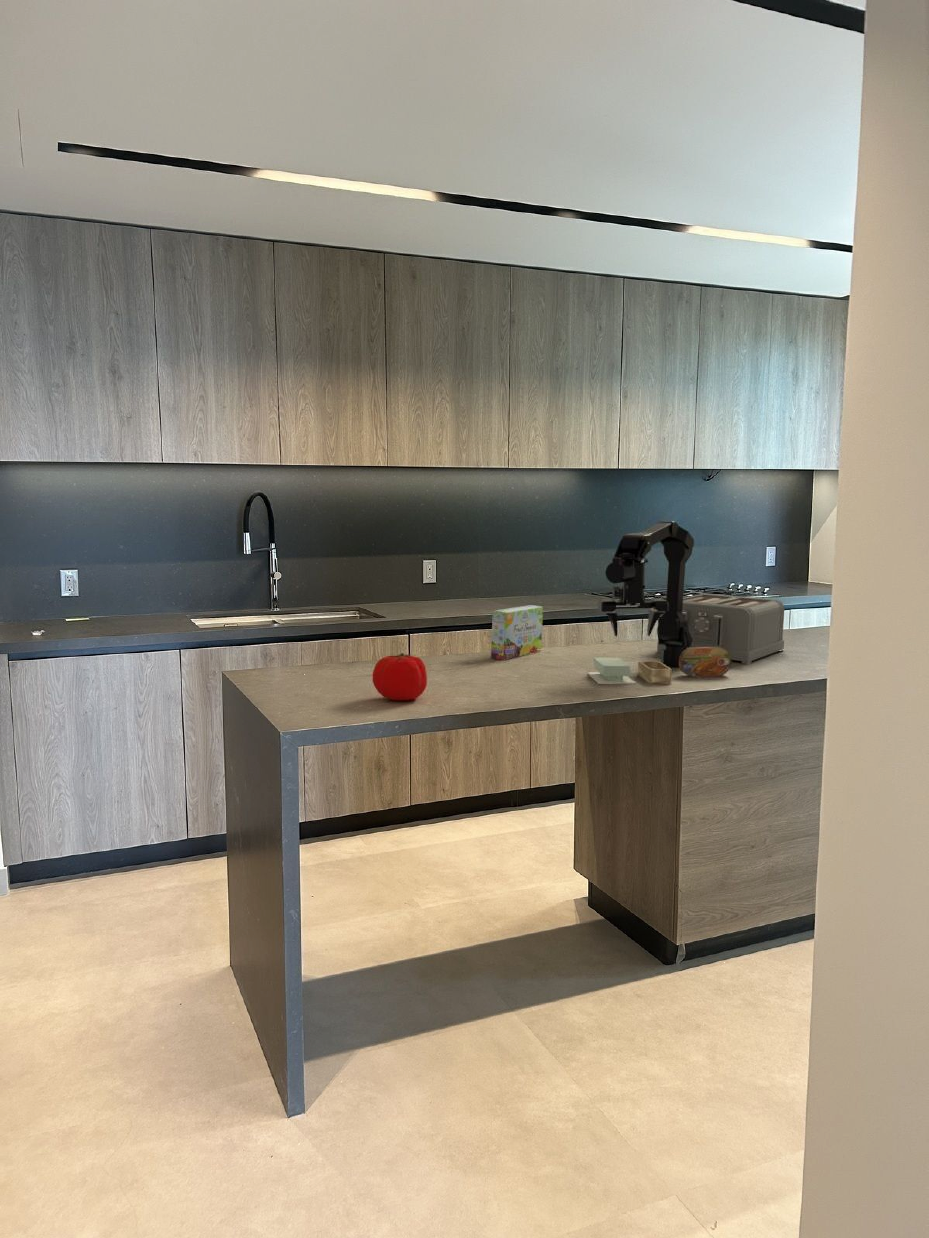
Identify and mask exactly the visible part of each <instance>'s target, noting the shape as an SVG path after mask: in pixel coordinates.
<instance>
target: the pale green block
mask: <svg viewBox="0 0 929 1238" xmlns="http://www.w3.org/2000/svg"><path fill="white" fill-rule="evenodd" d="M592 666H593V669H595V671H597V672H599V673H600V674H601V675H602V676H603V677H604V678H605V679H606V680H607V681H623V676H628V677H630V676H631V674H630V673H631V666H630V665H629V664H628V663H627V662H625V661H624V660H622V658H620V657H593V665H592Z"/></svg>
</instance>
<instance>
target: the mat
mask: <svg viewBox="0 0 929 1238" xmlns="http://www.w3.org/2000/svg"><path fill="white" fill-rule="evenodd" d="M588 674H589V675H588ZM587 675H588V676H590V677H591V678H592V679H593V681H595V682H596V683H597V684H598V685H635V684H636V681H635V680H633V679H632V678H630V676H623V681H607V680H606V679H605V678H604V677H603V676H602V675H601V674H600V673H599V672H598V671H597V672H593V671H592V672H591V671H590V672H587Z"/></svg>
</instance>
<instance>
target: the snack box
mask: <svg viewBox="0 0 929 1238" xmlns="http://www.w3.org/2000/svg"><path fill="white" fill-rule="evenodd" d="M543 614H544V606H539V605H532V604H531V605H522V606H514V607H509V608H502V609H497V610H496V609H495V610H492V619H491V620H492V624H491V625H492V626H491V645H490V647H491V648H490V658H491V659H494V658H495V659H494V660H499V661H505V660H510V658H511V659H514V658H513V657H515V658H519V656H520V657H523V656H522V655H524V656H527V655H526V654H529V655H531V654H530V653H533V652H538V651H541V652H542V639H543V621H544V619H543V617H544V616H543ZM537 649H541V650H537ZM538 653H539V652H538Z"/></svg>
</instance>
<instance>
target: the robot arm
mask: <svg viewBox="0 0 929 1238" xmlns="http://www.w3.org/2000/svg"><path fill="white" fill-rule="evenodd" d="M657 543H660V544H661V545H662V547H663V555H664V557H665V559H666V561H667V562H668V564H667V565H668V566H667V567H668V568H667V581H666V595H665V597H666V598H665V599H664V598H650V600H649V601H645V588H646V585H645V570H646V568H645V567H646V564H649V559H648V558H647V557H646V556H647V555H648V554H649V553H650V552H651V551H652V547H653V546H654V545H655V544H657ZM694 546H695V539H694V537H693V536H692V535H691V533H690V532H689V531H688V530H686V529H685V528H683V527H682V526H679V524H678V523H677V522H676V521H672V520H671V521H670V520H661V521H658V522H657V523H656V524H655V525H653V526H651V527H648V528H647V529H645V530H643V531H641V532H635V533H634V532H633V533H631V532H630V533H626V534H624V535H623V536H622V537H621V539H620V541H619V543H618V546H617V548H616V551H615V553H614V556H613V557H612V562H611V563H608V565H607V566H606V569H605V577H606V579H607V581H609V582H610V583H612V584H620V583H622V585H621V586H622V587H620V586H612V588H611V596H612V599H611V598H605V599H604V598H603V599H598V602H597V610H599V611H600V612H602V613H603V614H604V615H606V616H608V619H609V622H610V625H611V628H612V631H613V634H614V637H618V631H619V629H618V612H616V610H617V609H619V610H620V609H621V610H622V609H626V610H627V609H632V610H633V609H648V621H647V628H646V630H647V631H646V632H647V633H646V635H647V636H648V637H650V636H651V634H652V632H653V629H654V627H655V625H656V623H657V627H656V628H657V629H656V634H657V643H658V642H659V644H660V645H661V644H663V649H662V650H661V653H660V662H661V663H663V664H664V665H666V666H667V667H669V668H680V667H679V657H680V655H681V653H682V652H683V651H684V650H686V648H687V647H690V646H691V644H692V637H691V635H690V633H689V631H688V629H687V620H686V618H685V617H684V615H683V613H682V606H683V598H684V591H685V590H684V589H685V573H686V563H687V562H688V561H689V559H690V558H691V556H692V553H693V549H694ZM614 599H615V600H614ZM616 599H618V601H616ZM662 611H665V612H662ZM661 614H663V615H662V617H660V615H661ZM674 641H675V642H674Z"/></svg>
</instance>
